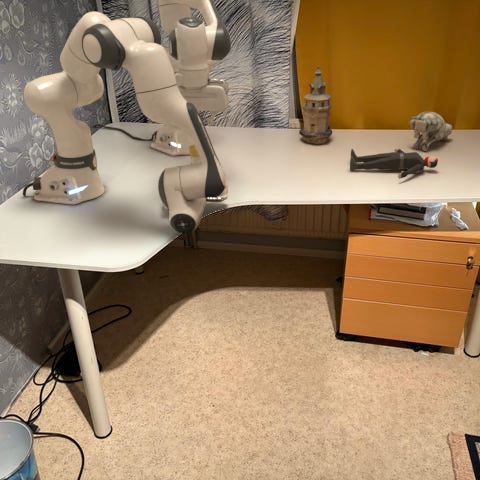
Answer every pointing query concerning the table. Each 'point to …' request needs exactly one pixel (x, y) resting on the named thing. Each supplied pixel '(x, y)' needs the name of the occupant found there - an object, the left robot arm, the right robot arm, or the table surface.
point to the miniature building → (316, 112)
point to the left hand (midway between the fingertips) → (198, 181)
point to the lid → (193, 151)
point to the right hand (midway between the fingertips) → (196, 124)
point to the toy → (393, 162)
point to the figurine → (429, 128)
